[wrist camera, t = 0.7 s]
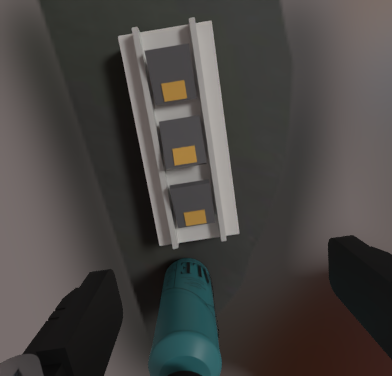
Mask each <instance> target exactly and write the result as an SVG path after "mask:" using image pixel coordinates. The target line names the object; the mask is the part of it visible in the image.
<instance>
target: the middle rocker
mask: <svg viewBox="0 0 392 376" xmlns="http://www.w3.org/2000/svg"><path fill="white" fill-rule="evenodd" d="M159 126H160V133H161V139H162V146H163V153H164V159H165V166H166V170H171V169H178V168H184V167H190V166H197V165H203V164H207V161H206V155H205V149H204V142H203V136H202V130H201V124H200V117H199V115H197V116H190V117H184V118H178V119H172V120H166V121H160V122H159Z"/></svg>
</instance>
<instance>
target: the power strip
mask: <svg viewBox="0 0 392 376" xmlns="http://www.w3.org/2000/svg"><path fill="white" fill-rule="evenodd" d="M132 33H133V34H128V35H122V36H118V39H119V44H120V49H121V54H122V59H123V64H124V69H125V74H126V80H127V85H128V90H129V95H130V100H131V105H132V110H133V115H134V120H135V125H136V130H137V135H138V140H139V145H140V150H141V155H142V160H143V165H144V170H145V175H146V180H147V185H148V190H149V195H150V200H151V205H152V210H153V215H154V220H155V225H156V231H157V236H158V241H159V246H162V245H169V244H172V246H173V249H176V248H178V244H179V243H182V242H188V241H195V240H201V239H208V238H214V237H220V238H221V241H227V240H226V236H227V235H234V234H239V226H238V219H237V211H236V204H235V196H234V188H233V181H232V173H231V165H230V158H229V150H228V143H227V135H226V127H225V120H224V112H223V105H222V97H221V89H220V82H219V74H218V66H217V59H216V51H215V44H214V36H213V28H212V21H206V22H200V23H195V17H193V18H189V24H188V25H182V26H176V27H170V28H164V29H158V30H152V31H146V32H140V31H139V29H138V27H133V28H132ZM188 43H189V47H190V54H191V62H192V69H193V76H194V83H195V90H196V97H197V99H191V100H185V101H179V102H172V103H166V104H160V105H156V104H155V99H154V94H153V89H152V84H151V80H150V75H149V70H148V65H147V61H146V56H145V51H146V50H152V49H158V48H164V47H170V46H176V45H182V44H188ZM197 115H199V117H200V124H201V130H202V136H203V142H204V149H205V155H206V161H207V164H203V165H197V166H190V167H184V168H178V169H171V170H166V166H165V159H164V153H163V146H162V139H161V133H160V126H159V122H160V121H166V120H172V119H178V118H184V117H190V116H197ZM206 179H209V182H210V188H211V195H212V203H213V210H214V217H215V223H209V224H203V225H196V226H190V227H184V228H178V226H177V221H176V216H175V212H174V207H173V203H172V198H171V193H170V185H175V184H181V183H187V182H194V181H200V180H206Z"/></svg>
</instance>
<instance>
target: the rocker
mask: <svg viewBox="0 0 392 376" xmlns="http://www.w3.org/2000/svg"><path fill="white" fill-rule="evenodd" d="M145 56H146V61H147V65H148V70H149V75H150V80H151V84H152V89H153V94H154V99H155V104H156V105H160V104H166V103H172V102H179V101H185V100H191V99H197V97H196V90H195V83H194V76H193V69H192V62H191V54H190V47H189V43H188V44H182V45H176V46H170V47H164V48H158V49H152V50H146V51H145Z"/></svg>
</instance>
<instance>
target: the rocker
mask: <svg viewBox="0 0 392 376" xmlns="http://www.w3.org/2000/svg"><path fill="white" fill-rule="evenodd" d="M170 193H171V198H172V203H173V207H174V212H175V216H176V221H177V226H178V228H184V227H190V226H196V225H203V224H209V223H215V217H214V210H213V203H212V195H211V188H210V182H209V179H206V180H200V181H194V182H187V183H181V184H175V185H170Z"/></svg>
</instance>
